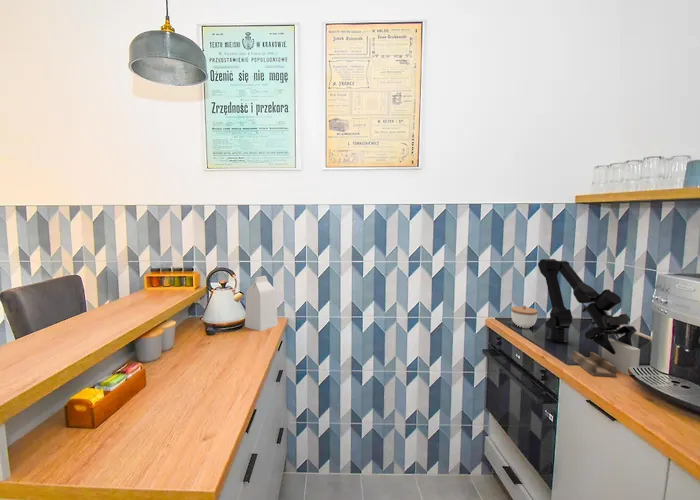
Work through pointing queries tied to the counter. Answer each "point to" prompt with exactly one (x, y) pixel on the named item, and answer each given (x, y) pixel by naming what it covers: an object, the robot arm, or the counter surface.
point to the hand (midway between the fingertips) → (623, 353)
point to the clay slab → (622, 356)
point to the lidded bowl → (524, 316)
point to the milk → (261, 305)
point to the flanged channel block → (595, 364)
